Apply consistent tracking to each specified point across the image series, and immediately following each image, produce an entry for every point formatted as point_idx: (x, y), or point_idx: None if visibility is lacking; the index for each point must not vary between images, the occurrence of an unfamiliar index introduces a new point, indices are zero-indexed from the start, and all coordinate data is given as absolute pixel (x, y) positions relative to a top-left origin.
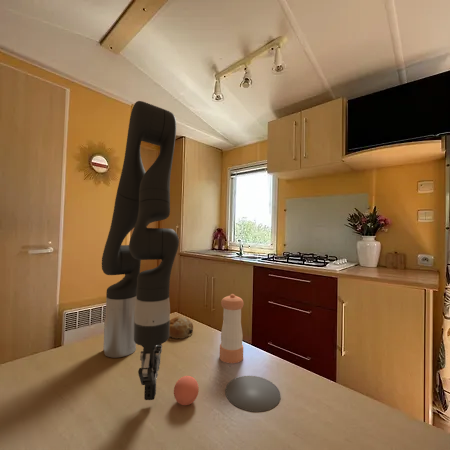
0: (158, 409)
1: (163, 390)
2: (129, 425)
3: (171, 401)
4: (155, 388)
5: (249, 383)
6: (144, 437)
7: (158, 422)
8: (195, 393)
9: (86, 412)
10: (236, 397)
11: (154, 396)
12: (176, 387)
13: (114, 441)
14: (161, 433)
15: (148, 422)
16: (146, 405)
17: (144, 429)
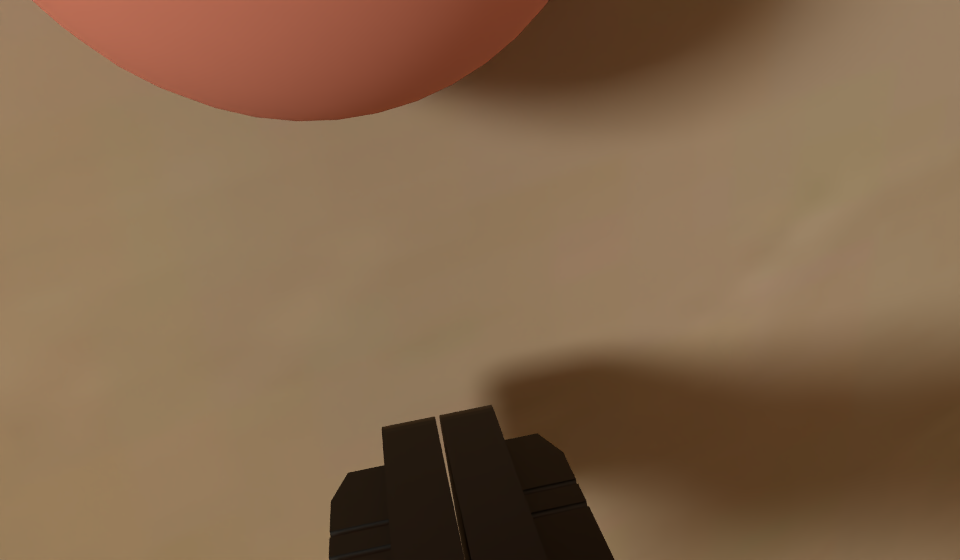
0: (511, 271)
1: (60, 350)
2: (768, 480)
3: (314, 132)
4: (446, 495)
5: None
6: (946, 264)
7: (746, 187)
8: None
9: None
10: None
11: (495, 422)
12: (486, 28)
13: (944, 508)
14: (921, 88)
15: (738, 308)
16: None
17: (838, 309)
